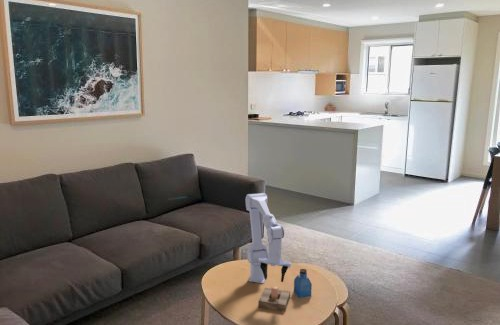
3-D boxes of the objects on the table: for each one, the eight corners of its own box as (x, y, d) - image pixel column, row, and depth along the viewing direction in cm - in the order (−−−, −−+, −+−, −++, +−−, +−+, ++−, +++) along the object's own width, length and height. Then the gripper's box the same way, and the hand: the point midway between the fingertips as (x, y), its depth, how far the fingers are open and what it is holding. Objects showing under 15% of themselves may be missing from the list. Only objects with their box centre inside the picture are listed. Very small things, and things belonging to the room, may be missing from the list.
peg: (271, 300, 182) (272, 285, 181) (278, 300, 182) (278, 286, 180) (270, 303, 179) (270, 289, 178) (277, 304, 178) (277, 290, 177)
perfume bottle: (298, 298, 184) (299, 274, 182) (293, 291, 190) (294, 268, 188) (311, 296, 186) (312, 272, 184) (305, 289, 192) (306, 266, 189)
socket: (264, 293, 188) (265, 287, 187) (290, 297, 185) (290, 291, 184) (258, 307, 176) (258, 300, 176) (285, 311, 173) (285, 305, 173)
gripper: (256, 253, 176) (256, 281, 179) (289, 257, 172) (288, 286, 175) (260, 247, 183) (260, 274, 186) (292, 251, 179) (291, 278, 182)
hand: (274, 279), depth 181 cm, fingers open, 7 cm apart
